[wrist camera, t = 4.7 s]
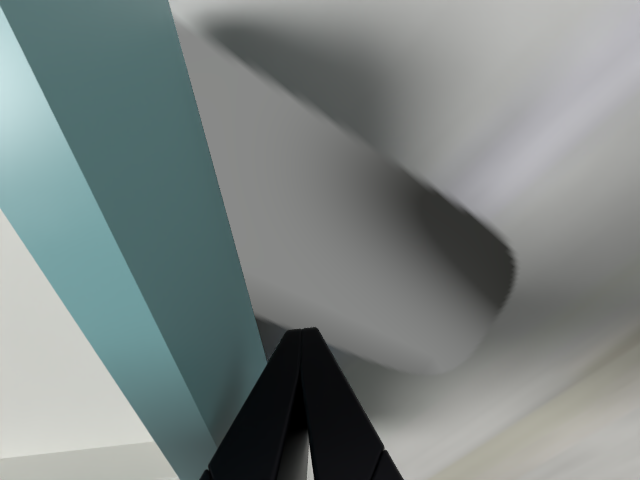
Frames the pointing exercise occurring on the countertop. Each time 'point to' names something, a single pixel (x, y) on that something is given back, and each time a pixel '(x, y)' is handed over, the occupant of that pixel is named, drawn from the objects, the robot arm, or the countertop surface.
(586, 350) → the countertop surface
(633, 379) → the countertop surface
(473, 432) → the countertop surface
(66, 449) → the teal drawer
